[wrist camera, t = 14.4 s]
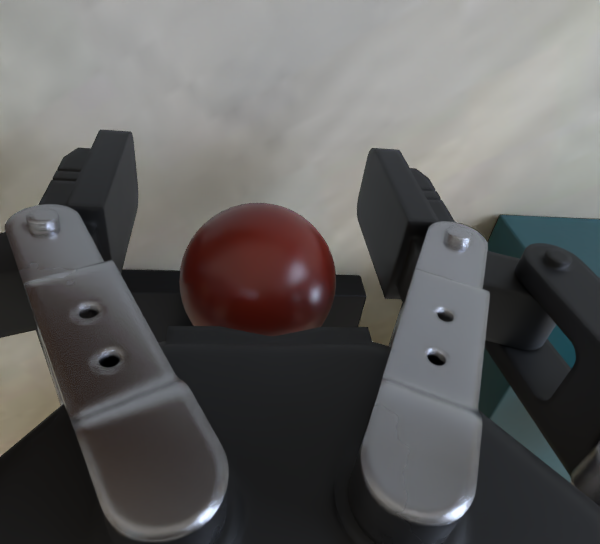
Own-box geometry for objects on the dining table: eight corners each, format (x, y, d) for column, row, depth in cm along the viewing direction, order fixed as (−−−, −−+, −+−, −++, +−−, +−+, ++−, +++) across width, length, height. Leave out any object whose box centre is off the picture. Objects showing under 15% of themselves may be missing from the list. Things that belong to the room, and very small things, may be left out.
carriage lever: (185, 194, 11) (172, 205, 8) (324, 201, 12) (359, 213, 9) (179, 725, 14) (168, 879, 11) (290, 712, 15) (308, 856, 12)
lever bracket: (113, 268, 18) (-58, 884, 7) (360, 274, 19) (519, 794, 9) (138, 441, 25) (71, 881, 14) (318, 436, 26) (378, 832, 16)
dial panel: (499, 213, 18) (565, 304, 14) (737, 224, 19) (850, 309, 16) (406, 423, 26) (434, 513, 23) (578, 419, 28) (629, 502, 24)
